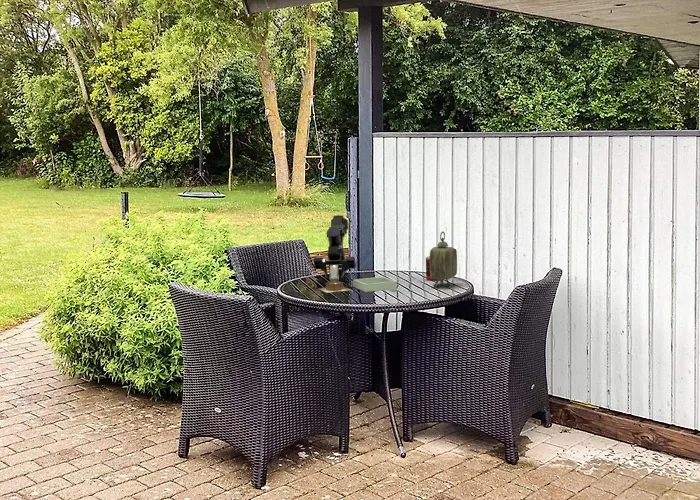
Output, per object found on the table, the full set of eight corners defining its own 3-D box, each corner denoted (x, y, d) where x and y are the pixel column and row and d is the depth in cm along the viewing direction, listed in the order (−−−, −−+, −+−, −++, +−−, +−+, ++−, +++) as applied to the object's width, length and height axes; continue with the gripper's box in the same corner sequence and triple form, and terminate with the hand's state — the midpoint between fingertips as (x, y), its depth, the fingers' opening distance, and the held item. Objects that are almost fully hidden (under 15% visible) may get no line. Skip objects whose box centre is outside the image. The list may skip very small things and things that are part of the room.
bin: (383, 286, 360) (383, 276, 360) (396, 291, 346) (396, 281, 346) (353, 289, 355) (352, 279, 354) (365, 294, 341) (365, 284, 340)
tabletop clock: (439, 282, 364) (438, 229, 361) (458, 283, 361) (457, 230, 358) (430, 288, 351) (428, 233, 348) (449, 289, 348) (448, 233, 345)
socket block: (342, 288, 358) (342, 279, 357) (351, 292, 347) (351, 283, 346) (317, 290, 354) (317, 281, 353) (326, 295, 343) (326, 285, 342)
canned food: (444, 278, 376) (444, 256, 375) (439, 281, 369) (438, 258, 368) (429, 277, 379) (428, 255, 378) (423, 280, 372) (423, 257, 371)
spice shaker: (337, 287, 353) (337, 263, 352) (341, 289, 349) (340, 265, 347) (327, 288, 351) (327, 264, 350) (331, 290, 347) (330, 266, 346)
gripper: (313, 239, 352) (311, 267, 342) (354, 238, 351) (353, 266, 341) (315, 254, 361) (314, 282, 351) (355, 253, 359) (355, 281, 350)
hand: (334, 277), depth 348 cm, fingers open, 6 cm apart
